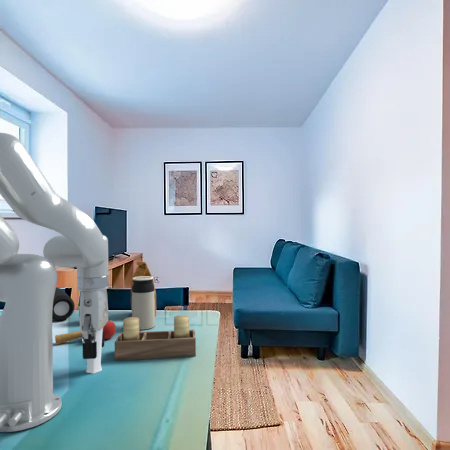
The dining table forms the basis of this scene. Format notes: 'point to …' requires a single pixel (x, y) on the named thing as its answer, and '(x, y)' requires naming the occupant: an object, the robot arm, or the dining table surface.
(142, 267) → the coffee package
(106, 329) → the kendama
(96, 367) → the white faceted vase
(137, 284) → the travel mug
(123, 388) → the dining table surface
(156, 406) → the dining table surface
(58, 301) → the portable speaker
